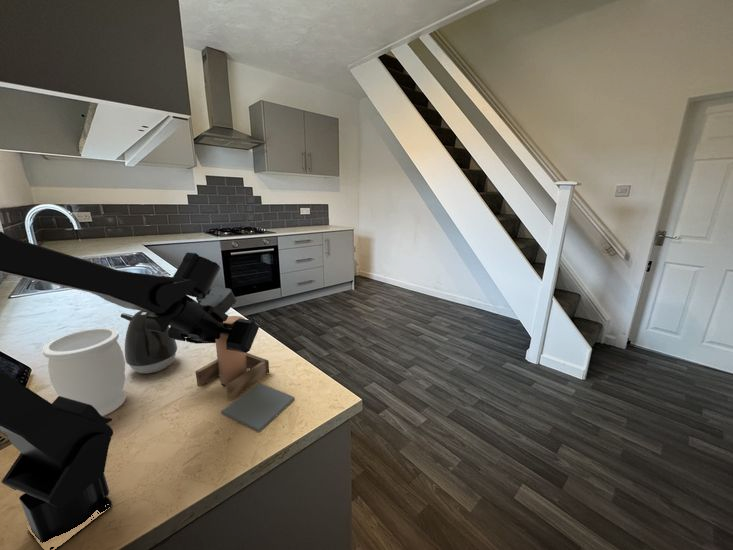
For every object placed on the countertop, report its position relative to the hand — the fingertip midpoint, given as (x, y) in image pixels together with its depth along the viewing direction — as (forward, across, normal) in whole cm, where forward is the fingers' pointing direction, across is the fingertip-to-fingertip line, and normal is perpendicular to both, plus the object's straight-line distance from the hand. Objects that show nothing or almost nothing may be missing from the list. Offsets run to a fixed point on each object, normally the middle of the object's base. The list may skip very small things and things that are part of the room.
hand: (235, 342), depth 67 cm
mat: (+1, -11, +12) cm, 16 cm away
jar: (-6, +19, +18) cm, 27 cm away
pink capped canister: (+5, 0, +7) cm, 8 cm away
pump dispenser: (+4, +22, +9) cm, 24 cm away
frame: (+5, 0, +7) cm, 9 cm away
